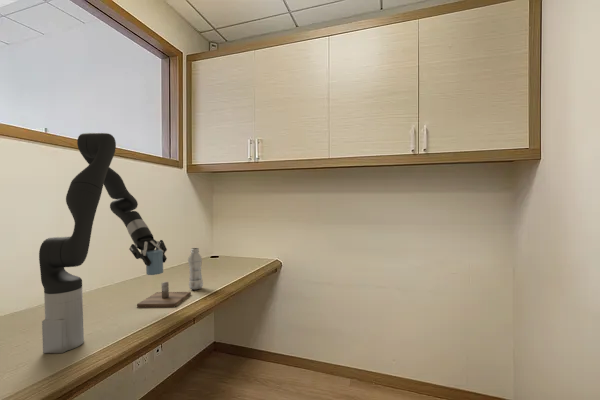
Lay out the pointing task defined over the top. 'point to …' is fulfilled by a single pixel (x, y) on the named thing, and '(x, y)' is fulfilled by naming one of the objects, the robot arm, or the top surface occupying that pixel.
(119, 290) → the top surface
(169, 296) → the post dock
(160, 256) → the blue-grey rounded cylinder
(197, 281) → the plastic bottle
